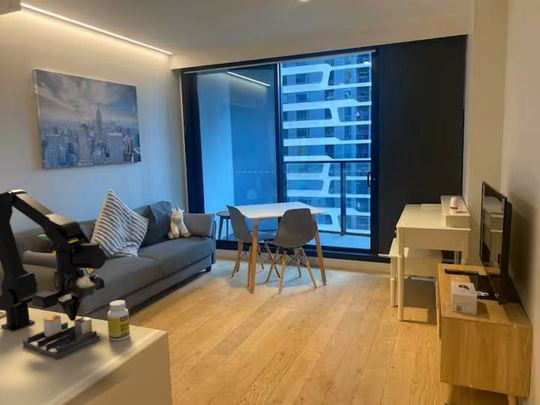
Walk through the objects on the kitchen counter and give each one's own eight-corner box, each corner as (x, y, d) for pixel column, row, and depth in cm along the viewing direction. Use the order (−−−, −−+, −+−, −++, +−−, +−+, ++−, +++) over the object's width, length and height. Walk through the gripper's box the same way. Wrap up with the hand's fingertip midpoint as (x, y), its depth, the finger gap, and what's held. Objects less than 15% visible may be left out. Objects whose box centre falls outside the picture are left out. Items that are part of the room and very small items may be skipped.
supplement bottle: (123, 342, 109) (120, 306, 108) (104, 340, 111) (102, 305, 109) (133, 333, 115) (131, 299, 113) (116, 331, 116) (113, 298, 115)
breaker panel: (23, 346, 108) (20, 324, 107) (65, 329, 118) (63, 308, 117) (57, 360, 100) (55, 336, 100) (99, 340, 111) (98, 318, 110)
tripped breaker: (44, 335, 110) (43, 318, 110) (55, 331, 113) (53, 314, 112) (51, 338, 109) (49, 320, 108) (62, 333, 111) (60, 316, 111)
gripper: (54, 280, 102) (59, 340, 104) (115, 261, 118) (119, 313, 120) (28, 274, 107) (33, 331, 109) (90, 257, 123) (94, 307, 125)
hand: (72, 320), depth 116 cm, fingers closed
